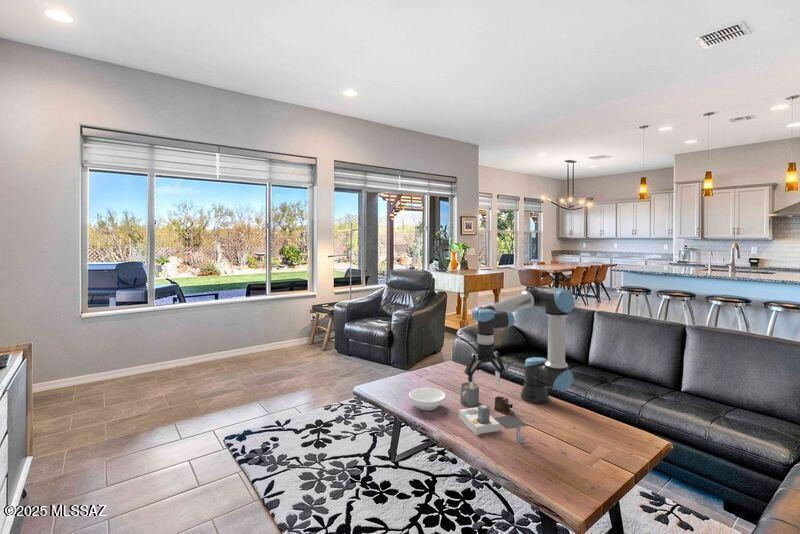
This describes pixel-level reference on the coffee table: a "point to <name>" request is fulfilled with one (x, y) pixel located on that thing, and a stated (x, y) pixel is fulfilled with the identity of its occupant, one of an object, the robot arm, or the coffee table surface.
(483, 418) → the plug
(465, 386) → the coffee mug
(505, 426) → the mat
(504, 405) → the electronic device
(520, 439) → the architectural model
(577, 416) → the coffee table surface
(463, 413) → the socket block
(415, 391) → the bowl
